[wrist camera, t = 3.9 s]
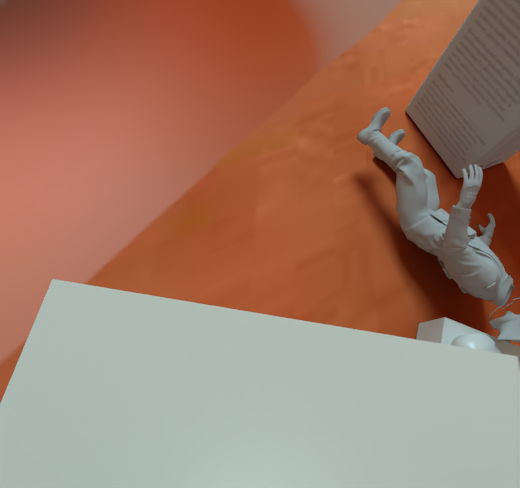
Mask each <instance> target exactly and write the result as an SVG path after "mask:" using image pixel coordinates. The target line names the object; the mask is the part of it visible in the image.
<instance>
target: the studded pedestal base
mask: <svg viewBox="0 0 520 488" xmlns="http://www.w3.org/2000/svg"><path fill="white" fill-rule="evenodd" d="M416 340H422V341H428V342H434V343H440V344H446V345H452V346H458V347H464V348H470V349H476V350H482V351H488V352H494V353H500V354H506V355H512V356H518V363H519V369H520V347H518V346H516V345H513V344H511V343H508V342H505V341H498V340H497V338H496V337H493V336H491V335H488V334H486V333H483V332H481V331H478V330H476V329H473V328H471V327H468V326H466V325H463V324H461V323H458V322H456V321H453V320H451V319H448V318H446V317H443V318H439V319H435V320H431V321H427V322H423V323H419V326H418V332H417V337H416Z"/></svg>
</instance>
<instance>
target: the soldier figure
mask: <svg viewBox="0 0 520 488" xmlns="http://www.w3.org/2000/svg"><path fill="white" fill-rule="evenodd" d="M389 116H390V110H389V108H387V107H386V108H383V109H381V110H379V111H378V112H377V113H376V114H375V115H374V116H373V118H372V122H371V124H370V125H369V126H368V128H367V129H363V130H362V131H361V132H360V133H359V134H358V136H357V139H358V140H359V141H360V142H361V143H363V144H365V145H367V144H368V145H369V146H370V147H371V148H372V150H373V151H374V153H373V155H374V156H376V157H377V158H378V159H380V160H383V161H384V162H385V163H386V164H388V166H389V167H391V168H392V169H393V171H394V172H396V173H397V179H396V194H397V204H396V210H397V212H398V214H399V221H400V226H401V229H402V231H403V232H404V234H405V235H406V238H407V239H408V240H410V241H411V242H413V243H415V244H416V245H417V247H419V248H421V249H423V250H424V251H427V252H428V253H431V254H433V255H435V256H438V261H439V263H440V265H441V266H442V269H443V270H444V272H445V274H446V276H447V277H448V278H449V279H453V280H454V281H455V282H457V284H458V285H459V289H461V291H462V292H463V293H469V294H471V295H472V296H474V297H477V298H480V299H486V300H488V301H494V304H495V305H497V306H499V307H500V306H504V305H505V303H506V302H507V301H508V299H509V297H510V295H511V293H512V290H513V289H514V288H515V287H514V286H513V279H512V278H511V276H510V275H509V276H508V275H507V273H506V272H505V269H504V267H503V264H502V263H501V262H500V261H499V258H498V257H496V256H495V254H494V253H493V251H492V250H490V248H489V246H490V243H491V238H492V236H493V232H494V228H495V226H496V224H495V219H494V217H493V215H492V214H491V213H489V214H488V218H489V220H490V223H489V224H488V226H487V227H486V228H483V227H482V226H481V225H478V226H479V228H480V231H481V232H482V236H480V237H477V236H476V233H477V232H476V231H474V230H473V229H472V228H471V227H469V226H468V225H469V223H470V221H469V220H470V218H471V216H470V214H471V211H472V210H471V209H470V208H471V206H472V204H474V202H475V200H476V196H477V194H478V192H479V190H480V187H481V185H482V180H483V172H482V169H481V167H478V166H477V165H476V164H475V165H474V169H475V177H474V170H473V167H472V165H469V171H470V176H469V179H468V174H467V172H466V169H464V168H463V169H462V171H463V177H464V181H463V186H462V189H461V192H460V200H459V202H458V204H457V205H456V206H452V209H451V213H450V215H449V214H448V213H447V212H446V211H444V210H443V209H442V208H441V209H439V210H438V208H439V196H438V189H437V184H436V177H435V175H434V174H433V173H432V172H430V171H429V170H427V169H424V168H423V165H422V162H421V160H420V159H419V157H418V156H416V155H414V154H412V153H408V152H407V151H405V150H402V149H401V148H399V147H398V146H396V145H397V144H398V143H399V142H400V141H401V140H402V139H403V138H404V137H405V132H404V130H403V129H400V130H397V131H395V132H394V133H392V134H391V135H390V136H389V138H388V139H387V138H386V137H385V136H384V135H383V134H382V133H381V127H382V126H383V124H384V123H385V122H386V121H387V119H388V118H389ZM442 262H443V263H444V266H443V264H442ZM516 299H520V298H516ZM513 300H515V299H513ZM513 302H514V301H513ZM513 302H512V303H513ZM512 303H511V304H512ZM508 305H510V304H508ZM506 306H507V305H506ZM506 306H505V307H506ZM499 307H498V308H499ZM500 308H501V307H500ZM496 309H497V308H496ZM496 309H495V310H496ZM502 309H505V308H502ZM495 310H494V311H495ZM493 313H494V312H493ZM493 313H492V314H493ZM492 314H491V315H492ZM491 315H490V316H491ZM490 316H489V317H490ZM489 322H490V324H491V326H492V328H494V329H498V330H499V331H500V333H499V335H498V338H497V340H498V341H505V342H508V343H510V340H513V341H515V342H520V314H519V315H515V314H513V313H512V312H510V311H507V313H506V314H505V316H504V317H500V318H497V319H494V320H492V321H490V320H489Z"/></svg>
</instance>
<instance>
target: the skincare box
mask: <svg viewBox="0 0 520 488" xmlns="http://www.w3.org/2000/svg"><path fill="white" fill-rule="evenodd" d="M406 112H407V114H408V115H409V116H410V117H411V119H412V120H413V121H414V123H415V124H416V125H417V127H418V128H419V129H420V131H421V132H422V133H423V135H424V136H425V137H426V139H427V140H428V141H429V142H430V144H431V145H432V146H433V148H434V149H435V150H436V152H437V153H438V154H439V156H440V157H441V158H442V160H443V161H444V162H445V164H446V165H447V166H448V167H449V169H450V170H451V172H452V173H453V174H454V176H455V177H456V178H457V179H459V178H462V177H463V171H462V169H463V168H464V169H466V172H467V174H468V175H469V174H470V171H469V165H472V167H473V170H474V173H475V169H474V165H475V164H476V165H477V166H478V167H481V169H482V170H483V169H485V168H488V167H491V166H493V165H496V164H499V163H502V162H504V161H506V160H508V159H509V158H510V157H512V156H513V155H514V154H516V153H517V152H518V151H519V150H520V0H478V2H477V4H476V5H475V7H474V8H473V10H472V11H471V13H470V14H469V16H468V17H467V19H466V20H465V22H464V23H463V24H462V26H461V27H460V29H459V30H458V32H457V33H456V35H455V36H454V38H453V39H452V41H451V42H450V44H449V45H448V47H447V48H446V50H445V51H444V53H443V54H442V56H441V57H440V58H439V60H438V61H437V63H436V64H435V66H434V67H433V69H432V70H431V72H430V73H429V75H428V76H427V78H426V79H425V81H424V82H423V84H422V85H421V87H420V88H419V90H418V91H417V93H416V94H415V96H414V97H413V99H412V100H411V102H410V103H409V105H408V106H407V108H406Z"/></svg>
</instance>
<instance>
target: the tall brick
mask: <svg viewBox="0 0 520 488" xmlns="http://www.w3.org/2000/svg"><path fill="white" fill-rule="evenodd" d="M0 488H520V369H519V363H518V356H512V355H506V354H500V353H494V352H488V351H482V350H476V349H470V348H464V347H458V346H452V345H446V344H440V343H434V342H428V341H422V340H416V339H410V338H404V337H398V336H392V335H386V334H380V333H374V332H368V331H362V330H356V329H350V328H344V327H338V326H332V325H326V324H320V323H313V322H307V321H301V320H295V319H289V318H283V317H277V316H271V315H265V314H259V313H253V312H247V311H241V310H235V309H229V308H223V307H217V306H211V305H205V304H199V303H193V302H187V301H181V300H175V299H169V298H163V297H157V296H151V295H145V294H139V293H133V292H127V291H121V290H115V289H109V288H103V287H97V286H91V285H85V284H79V283H73V282H67V281H61V280H54V279H52V282H51V284H50V287H49V289H48V291H47V294H46V296H45V299H44V301H43V303H42V305H41V308H40V310H39V313H38V315H37V318H36V320H35V322H34V325H33V327H32V330H31V332H30V334H29V336H28V339H27V341H26V344H25V346H24V348H23V351H22V353H21V356H20V358H19V360H18V363H17V365H16V368H15V370H14V372H13V375H12V377H11V379H10V382H9V384H8V387H7V389H6V391H5V394H4V396H3V399H2V401H1V403H0Z"/></svg>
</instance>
